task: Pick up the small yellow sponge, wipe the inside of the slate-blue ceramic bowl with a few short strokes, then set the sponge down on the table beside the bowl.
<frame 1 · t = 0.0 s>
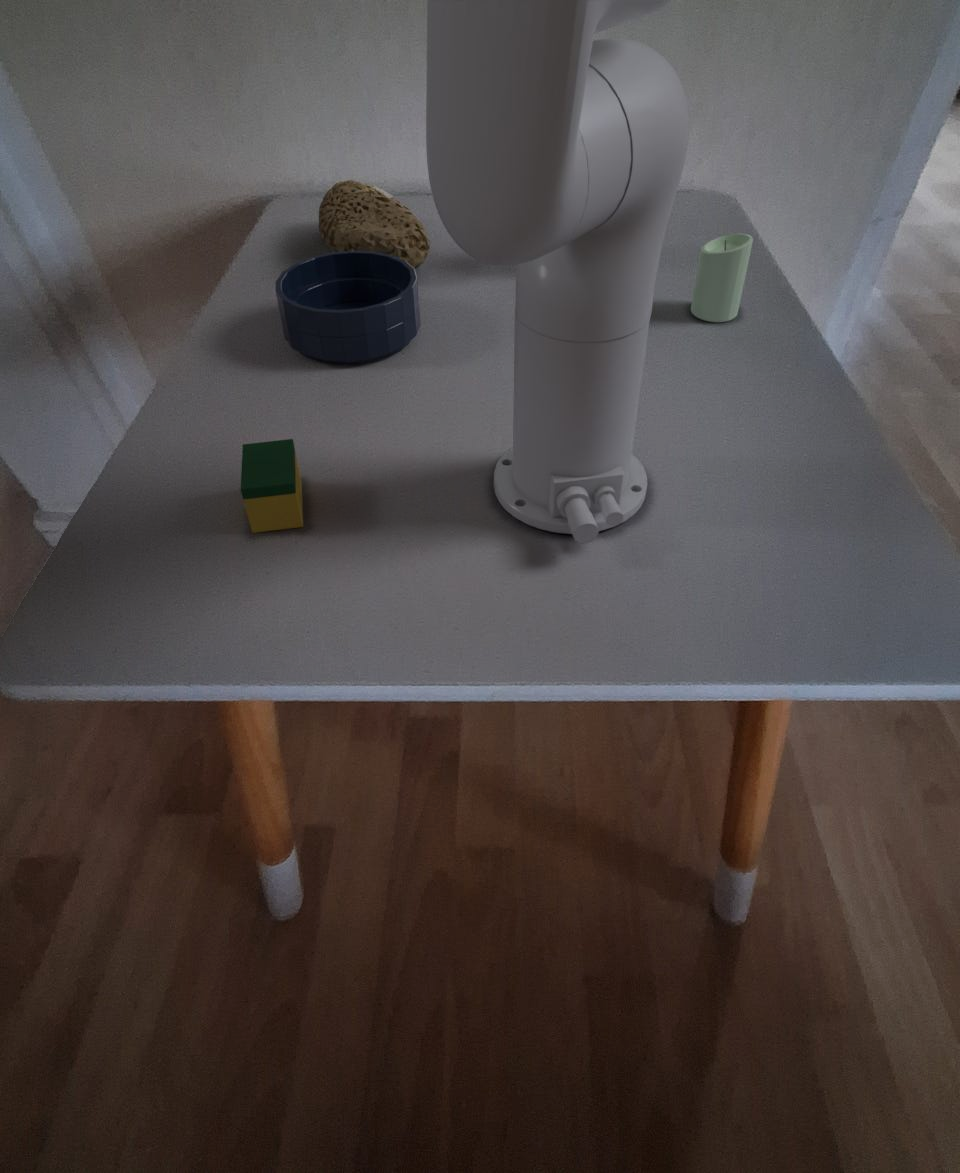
scrub sponge: (277, 506, 69), on the table
candle: (713, 313, 92), on the table
sponge: (375, 255, 104), on the table
bowl: (353, 334, 89), on the table
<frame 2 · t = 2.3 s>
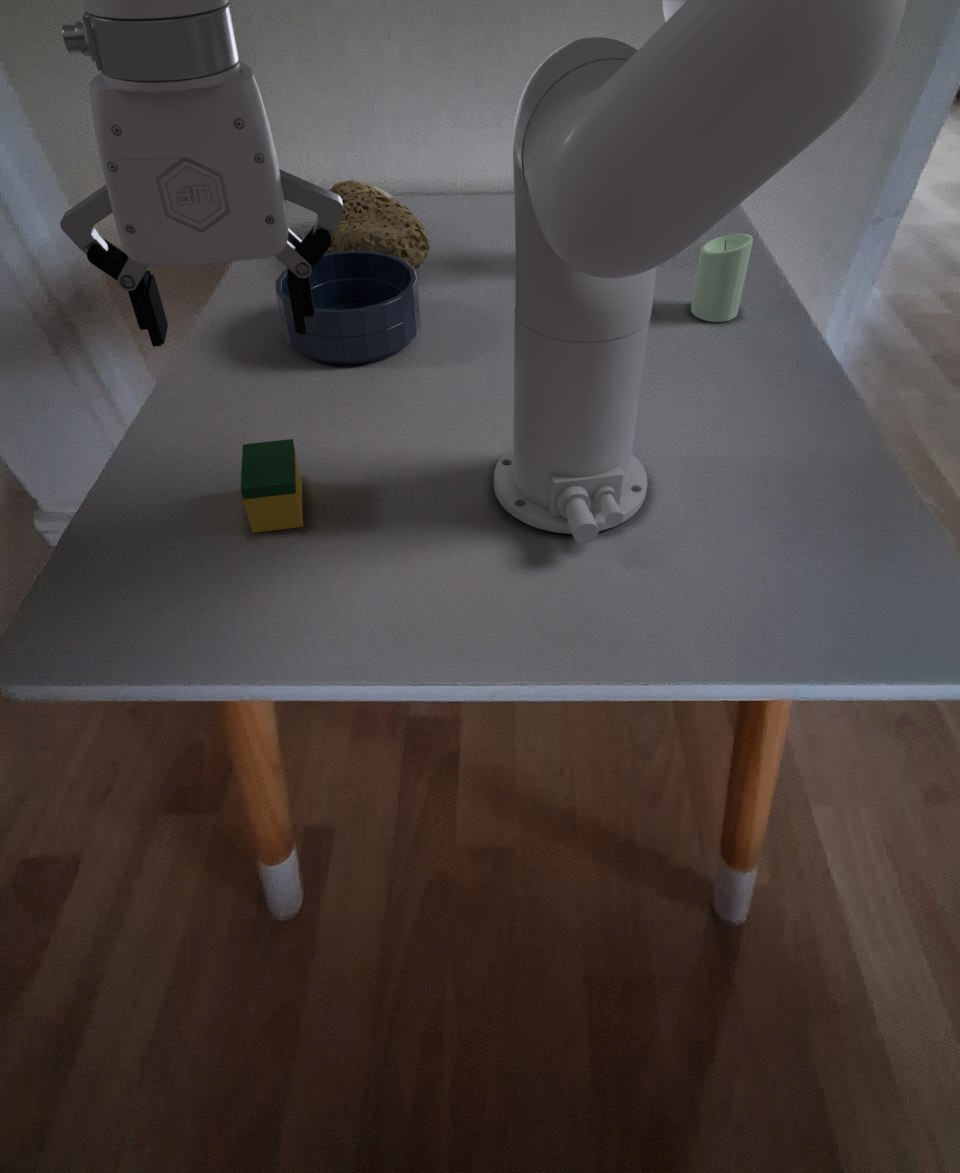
hand: (231, 331, 59), 15 cm above the table, tool pointing down, fingers open, 9 cm apart
nothing on the table moved.
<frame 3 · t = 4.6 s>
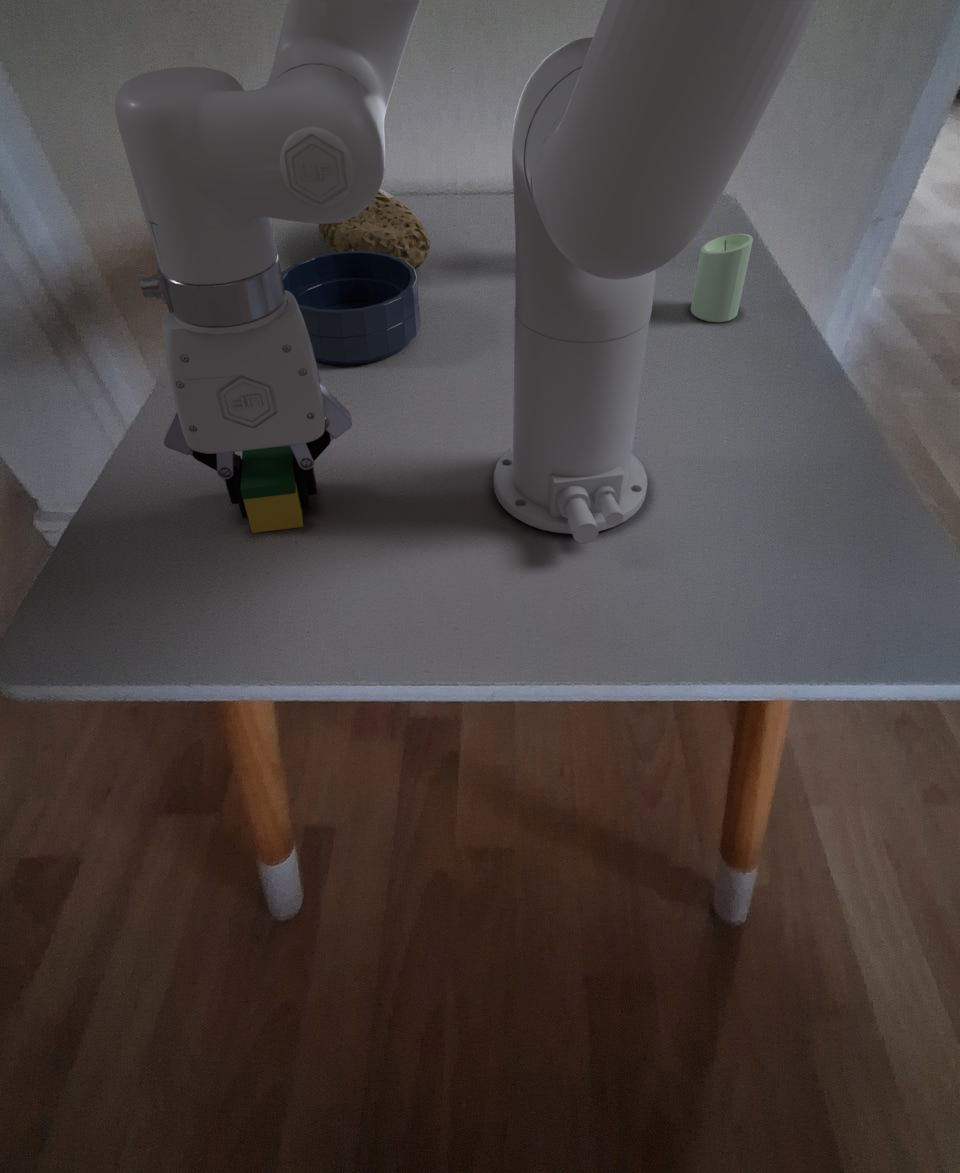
hand: (276, 502, 68), 1 cm above the table, tool pointing down, fingers closed on scrub sponge, 4 cm apart
scrub sponge: (277, 506, 69), on the table, touching gripper
everything else where it was.
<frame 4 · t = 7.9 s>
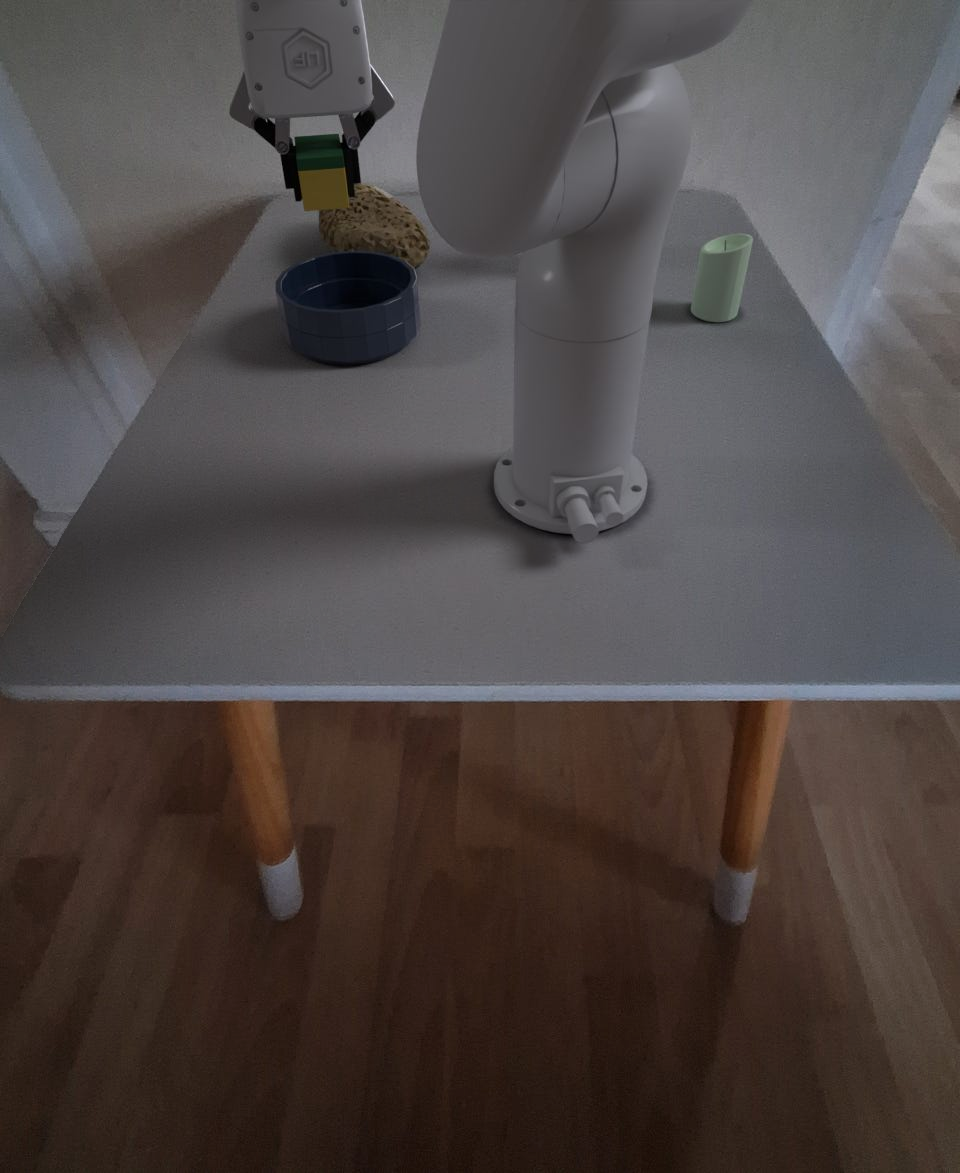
hand: (324, 191, 77), 15 cm above the table, tool pointing down, fingers closed on scrub sponge, 4 cm apart
scrub sponge: (325, 197, 77), point 15 cm above the table, touching gripper
everything else where it was.
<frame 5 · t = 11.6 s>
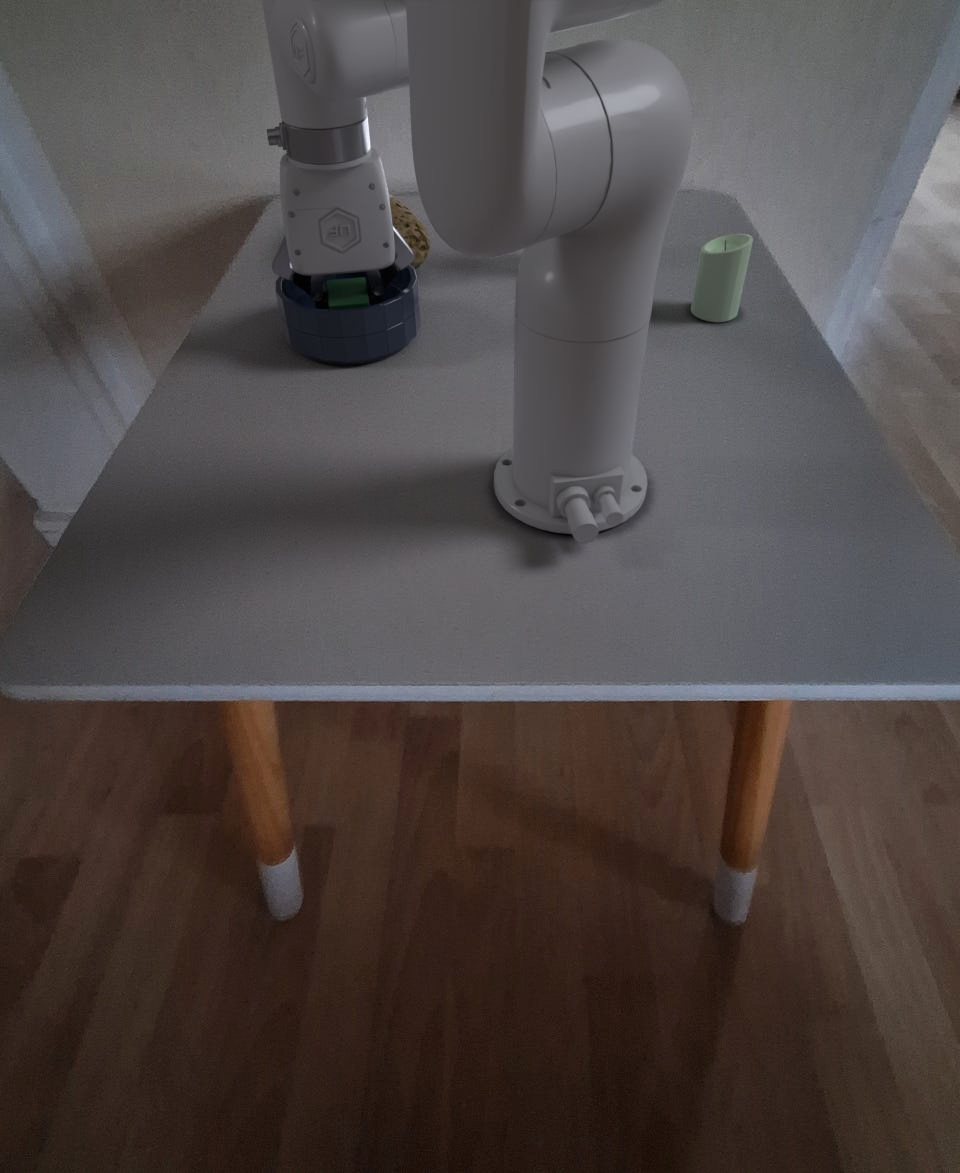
hand: (352, 327, 88), 1 cm above the table, tool pointing down, fingers closed on scrub sponge, 4 cm apart
scrub sponge: (352, 331, 88), point 1 cm above the table, touching gripper
everything else where it was.
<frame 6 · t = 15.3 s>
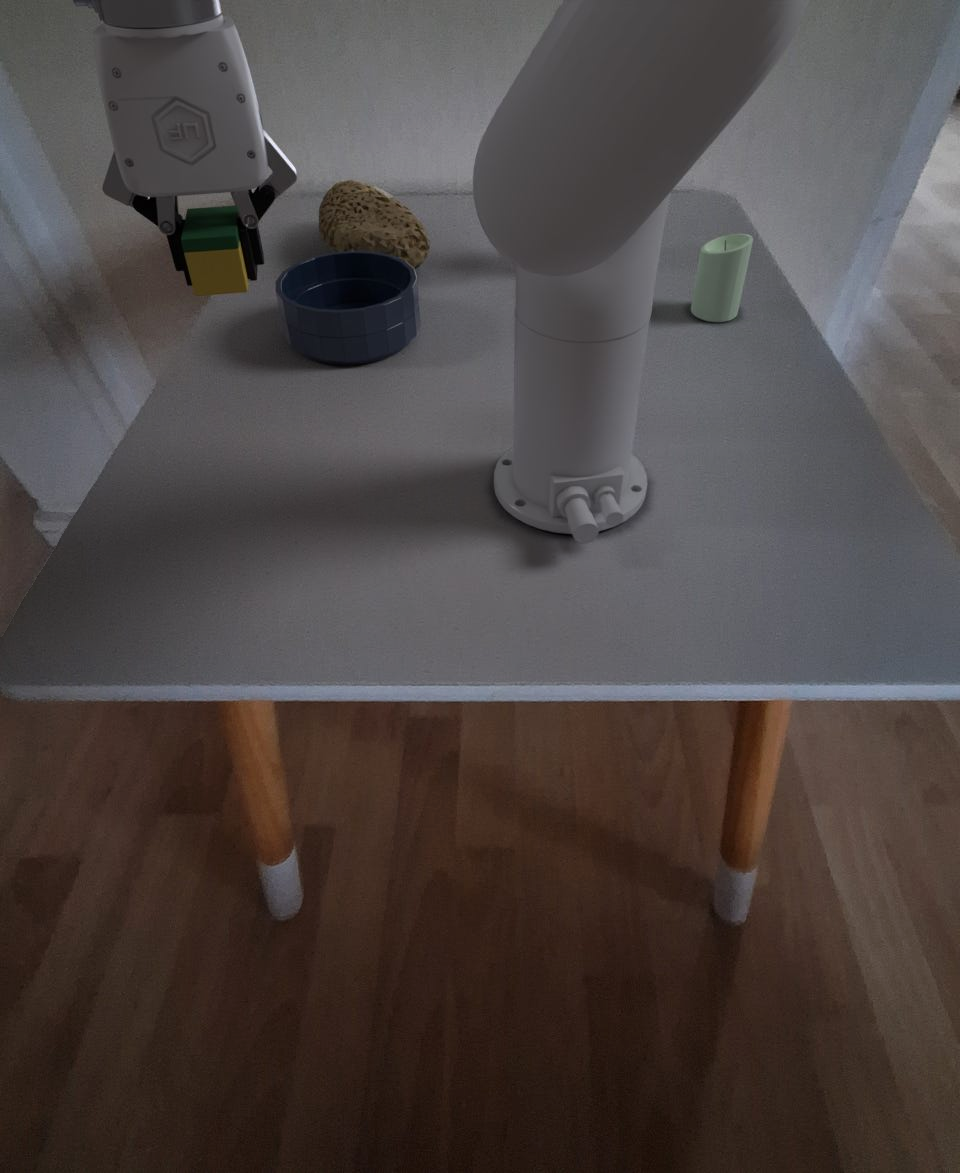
hand: (223, 273, 67), 15 cm above the table, tool pointing down, fingers closed on scrub sponge, 4 cm apart
scrub sponge: (223, 277, 67), point 14 cm above the table, touching gripper
everything else where it was.
when the fingers open (0 cm above the table, at t = 18.8 s): scrub sponge stays where it is, on the table.
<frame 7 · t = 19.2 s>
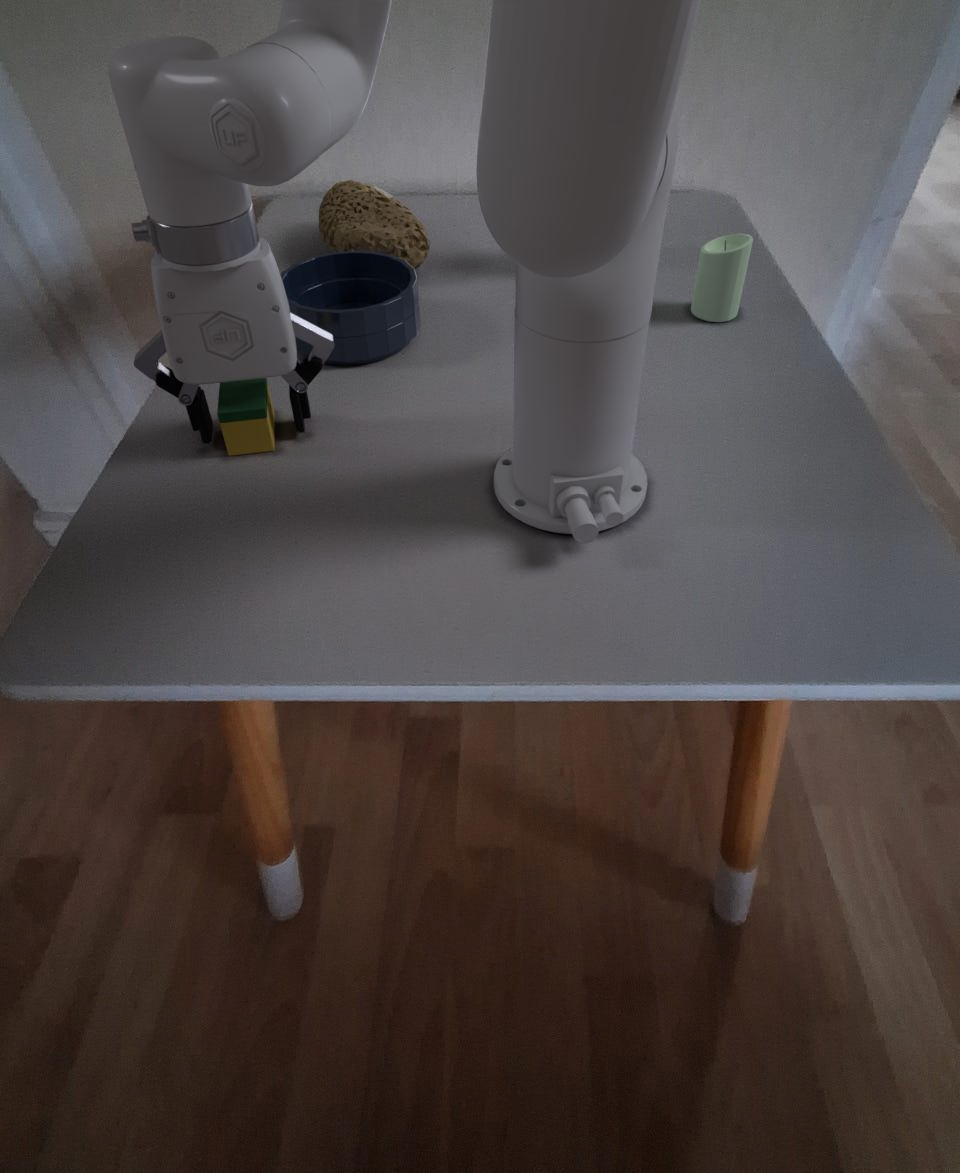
hand: (254, 428, 76), 1 cm above the table, tool pointing down, fingers open, 7 cm apart
scrub sponge: (252, 434, 76), on the table
everything else where it was.
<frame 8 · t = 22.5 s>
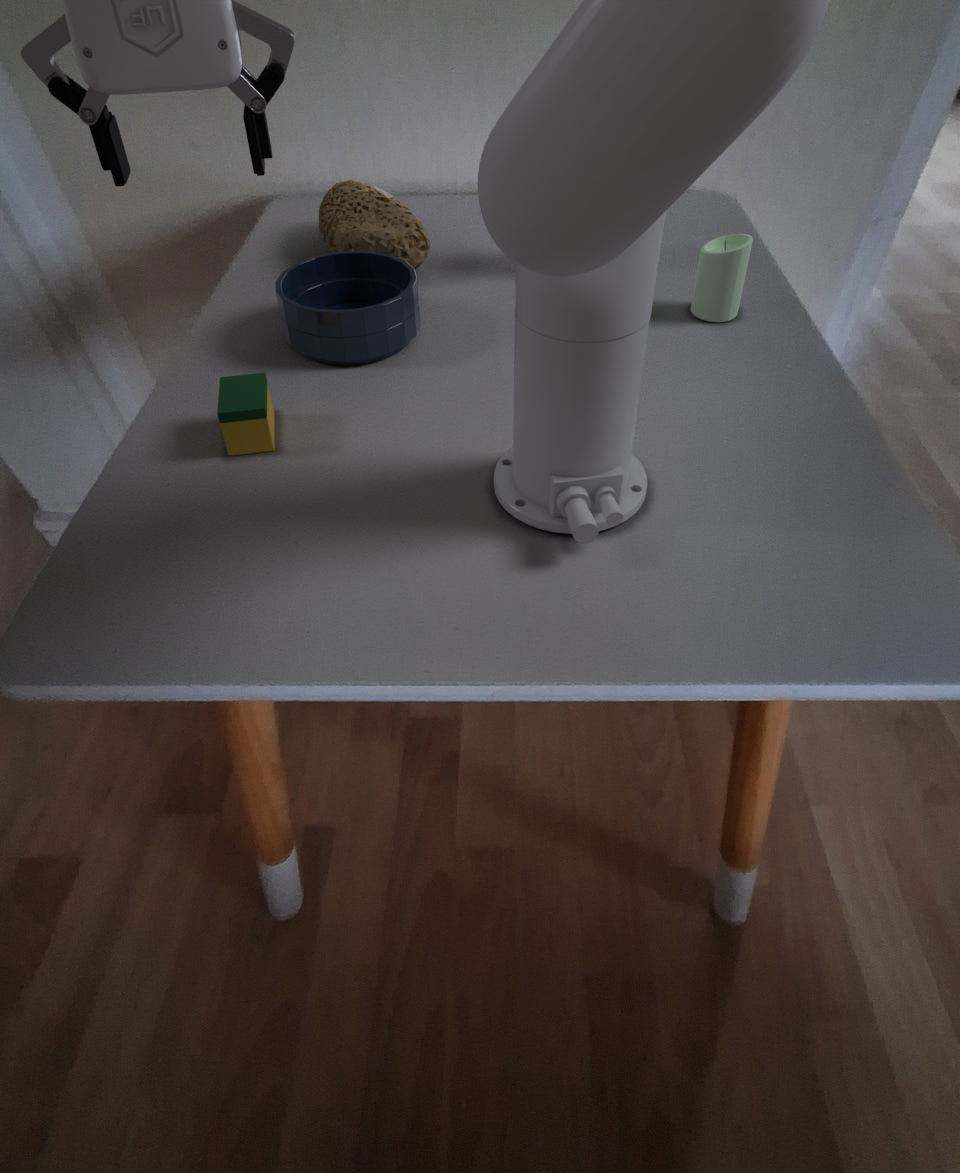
hand: (192, 174, 61), 22 cm above the table, tool pointing down, fingers open, 9 cm apart
nothing on the table moved.
at the end: scrub sponge inside the target area on the table beside the bowl (0.3 cm from its centre), on the table; scrub sponge tilted 0°; the gripper is holding nothing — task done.
